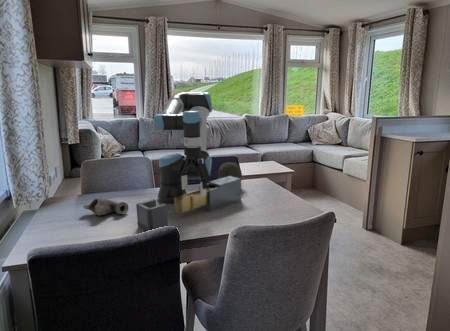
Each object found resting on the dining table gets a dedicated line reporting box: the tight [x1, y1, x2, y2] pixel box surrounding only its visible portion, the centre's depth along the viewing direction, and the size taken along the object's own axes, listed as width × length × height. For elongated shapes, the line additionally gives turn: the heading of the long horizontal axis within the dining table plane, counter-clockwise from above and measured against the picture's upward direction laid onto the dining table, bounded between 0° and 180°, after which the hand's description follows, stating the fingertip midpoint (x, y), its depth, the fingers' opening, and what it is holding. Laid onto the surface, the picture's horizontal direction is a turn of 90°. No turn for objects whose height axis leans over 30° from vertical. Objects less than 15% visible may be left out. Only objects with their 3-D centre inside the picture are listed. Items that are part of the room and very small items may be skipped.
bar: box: [173, 186, 216, 214], centre depth 154 cm, size 6×32×6 cm, turn 134°
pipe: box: [82, 197, 129, 217], centre depth 151 cm, size 16×9×15 cm
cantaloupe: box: [217, 161, 243, 180], centre depth 186 cm, size 14×14×15 cm
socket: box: [135, 198, 169, 232], centre depth 135 cm, size 10×8×10 cm
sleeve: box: [198, 176, 242, 212], centre depth 162 cm, size 8×21×12 cm, turn 134°
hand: (193, 192), depth 149 cm, fingers open, 13 cm apart
